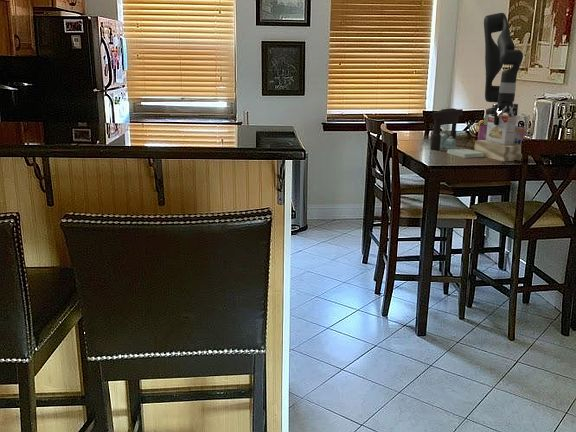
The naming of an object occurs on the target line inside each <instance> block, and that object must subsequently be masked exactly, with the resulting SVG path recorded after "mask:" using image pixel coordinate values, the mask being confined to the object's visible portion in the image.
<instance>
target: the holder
mask: <svg viewBox="0 0 576 432" xmlns="http://www.w3.org/2000/svg"><path fill="white" fill-rule="evenodd" d="M474 151H478V152H482V153H484V157H485V158H489V159H493V160H496V161H499V162H513V161H514V160H517V161H522V160H521V158H522V154H521V144H516V143H513V146H504V145H499V144H495V143H490V142H486V140H478V139H477V140H475V141H474ZM484 157H483V158H484ZM514 162H515V161H514Z"/></svg>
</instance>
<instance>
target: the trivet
mask: <svg viewBox="0 0 576 432" xmlns="http://www.w3.org/2000/svg"><path fill="white" fill-rule="evenodd" d="M447 154H449V155H452V156H456V157H459V158H464V159H468V158H469V159H470V158H471V159H472V158H484V153H482V152H478V151H474V150H473V149H471V148H458V149H447Z"/></svg>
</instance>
